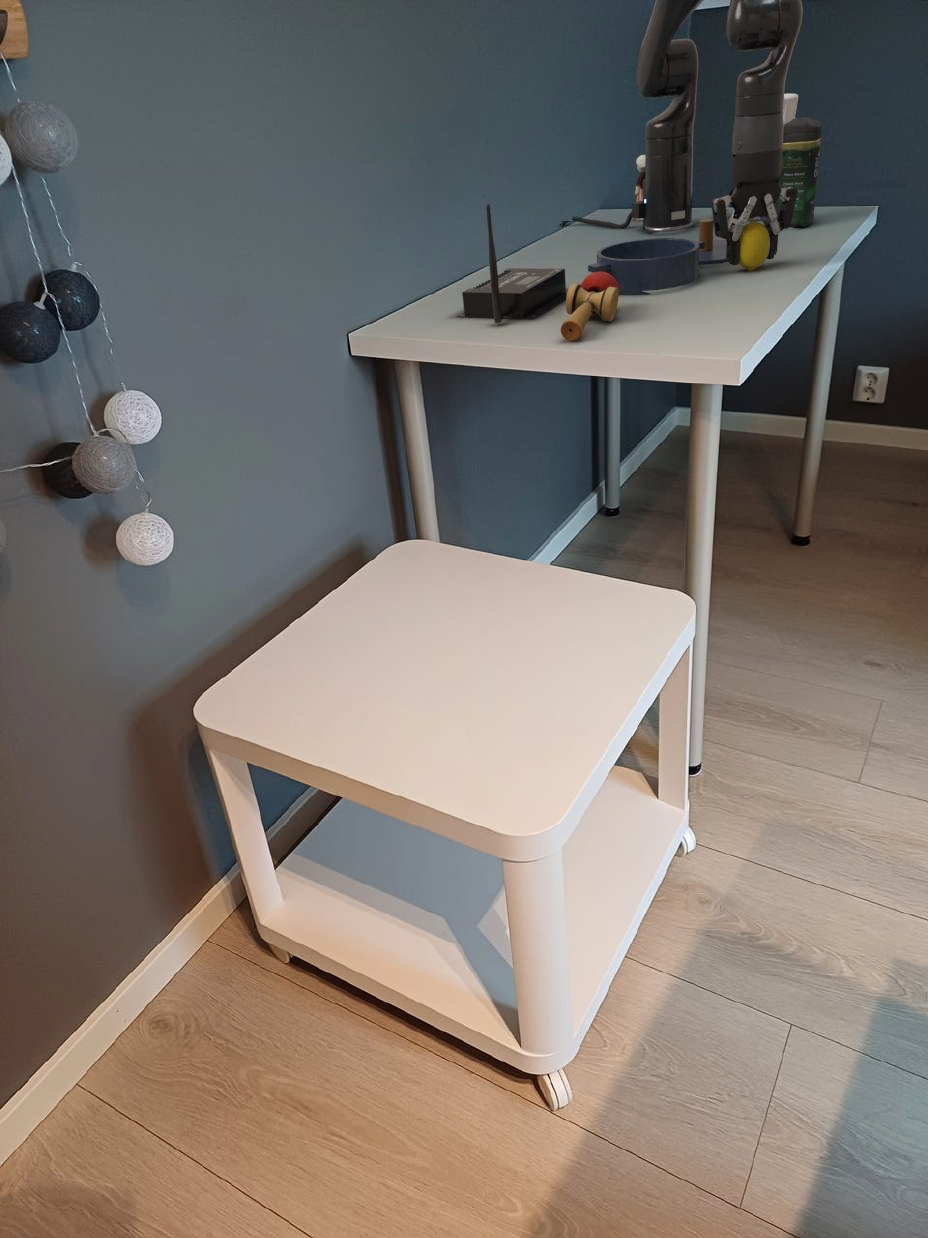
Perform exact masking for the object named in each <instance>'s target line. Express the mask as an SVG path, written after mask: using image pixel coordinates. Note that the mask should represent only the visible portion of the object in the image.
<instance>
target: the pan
mask: <svg viewBox="0 0 928 1238" xmlns="http://www.w3.org/2000/svg"><path fill="white" fill-rule="evenodd" d="M703 248H705V242H702V241H699V240H692V239H685V238H674V237H662V238H661V237H660V238H659V237H658V238H644V239H643V238H642V239H633V240H628V241H621V242H617V243H612V244H610V245H607V246H605V247H601V248H600V249H599V250H597V252H596V262H595V263H591V264H588V265H587V272H590V273H594V272H600V271H601V272H606V273H609V274H610V275H612V276H613V277H614V278H615V280H616V281H617V283H618V286H619V295H623V296H624V295H627V296H630V295H631V296H636V295H637V296H642V295H651V293H650V291H661V290H665V289H666V290H668V289H673V288H677V287H682V286H685V285H688V284H691V283H693V282H695V281H696V280H697V279H699V277H700V275H699V274H700V264H699V249H703Z"/></svg>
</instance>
